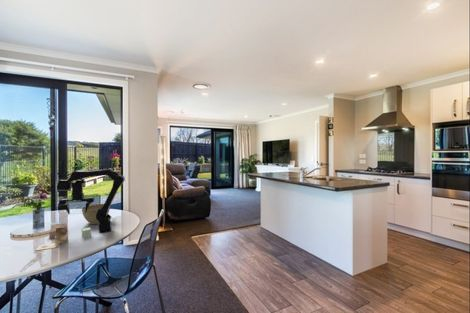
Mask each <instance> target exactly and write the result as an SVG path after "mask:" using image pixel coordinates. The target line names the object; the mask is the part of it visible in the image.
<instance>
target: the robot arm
mask: <svg viewBox="0 0 470 313" xmlns="http://www.w3.org/2000/svg"><path fill="white" fill-rule="evenodd" d="M100 176H101V177H102V176H107V177H109V178H110V179H111V180H112V181H113V182H112V187H111V189H110V191H109V193H108V194H107V198H106V200H105V201H104V203H103V204H104V206H103V207H100V208H99V209H98V212H97V214H96V219H97V220H98V221H99V224H98V232H99V233H101V234H102V233H107V232H111V230H112V221H111V219H112V216H111V215H110V214H109V213H110V210H109V207H110V208H111V205H112V202H113V201H114V199H115V197H116V195H117V193H118V191H119V189H120V187H121V186H122V185H123V184H124V182H125V180H126V178H125V176H124V175H122V174H119V173H117V171H116V172H115V171H114V170H113V169H111V168H107V169H100V170H99V169H97V170H74V171H72V172H71V173H70V176H69V178H67V179H59V180H58V182H57V185H56V189H57V191H63V192H64V191H70V190H71V198H70V199H69V198H61V199H60V200H58V206H59V205H60V206H61V207H63V208H64V209H65V211H66V213H67V215H70V214H71V213H70V211H71V210H70V203H81V202H82V203H83V202H86V203H85V206H86V209H85V213H86V212H87V209H88V207H89V205H92V204H93V203H94V202H95V200H96V198H95V196H87V197H86V198H85V193H84V191H83V190H84V188H83V186H84V185H83V184H85V183H87V181H86V180H85V179H86V178H90V177H92V178H93V177H100ZM108 212H109V213H108Z"/></svg>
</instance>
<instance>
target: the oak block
mask: <svg viewBox="0 0 470 313" xmlns="http://www.w3.org/2000/svg"><path fill="white" fill-rule="evenodd" d="M68 232H69V231H67V233H66V234H65V235H60V236H55V238H54V243H59V244H64V243H65V244H66V242H67V241H68V238H69V237H68V236H69V235H68V234H69V233H68Z"/></svg>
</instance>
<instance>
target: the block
mask: <svg viewBox="0 0 470 313" xmlns="http://www.w3.org/2000/svg"><path fill="white" fill-rule="evenodd" d="M90 237H92V229H91V227H86V228H81V238H83V239H85V238H90Z"/></svg>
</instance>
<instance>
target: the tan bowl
mask: <svg viewBox="0 0 470 313" xmlns="http://www.w3.org/2000/svg"><path fill="white" fill-rule="evenodd" d="M103 206H104V203H98V204H97V203H96V204H90V205H89V207H88V209H87V212H86V213H85V209H86V205H85V206H83V207H82V208H81V213H82V216H83V218H84V219H85V221H86V222H87V223H89V224H90V225H99V224H100V223H99V221H98V220H97V219H96V214H97V212H98V209H99V208H100V207H103ZM110 209H111V206H110V207H109V212H108V214H109V213H110V211H111V210H110Z"/></svg>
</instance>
